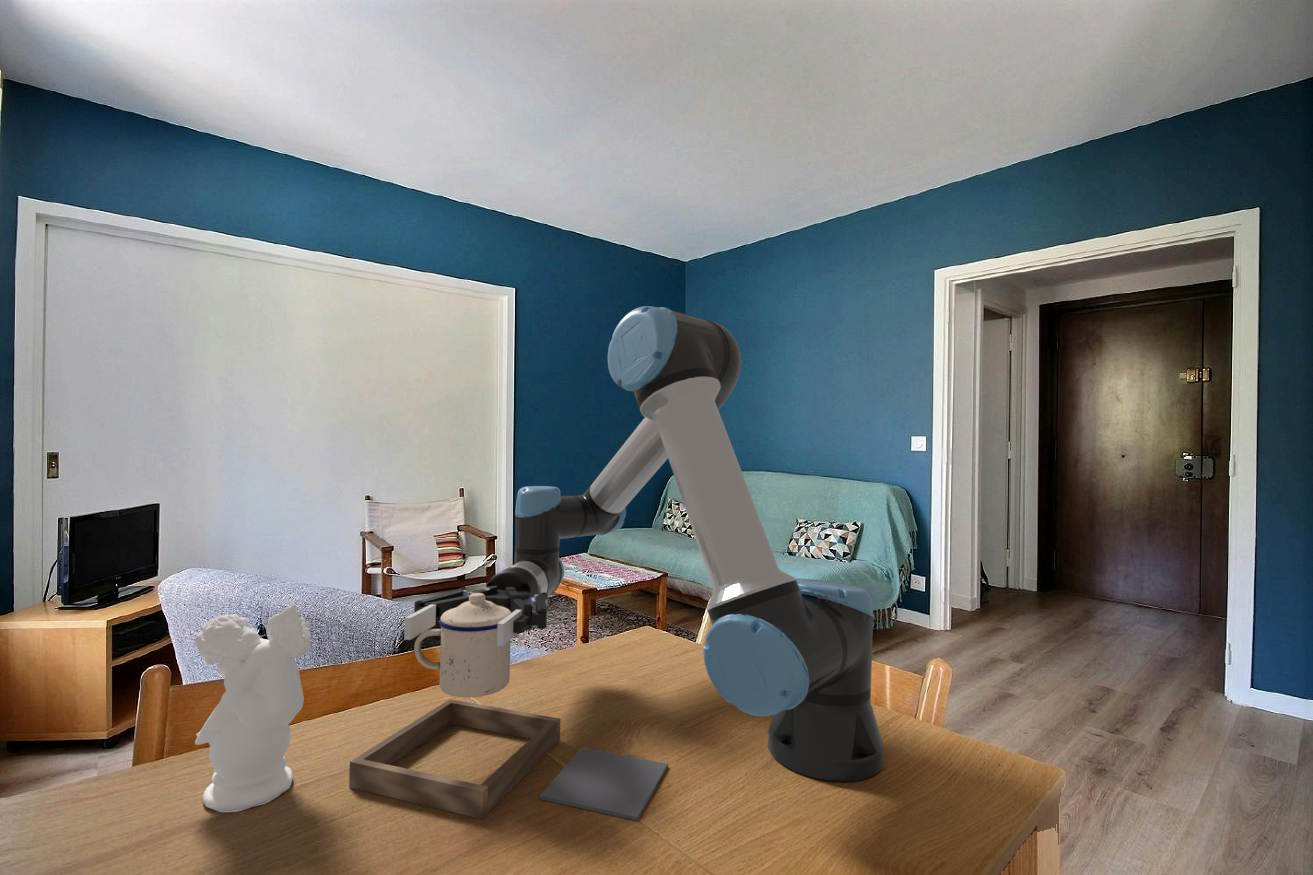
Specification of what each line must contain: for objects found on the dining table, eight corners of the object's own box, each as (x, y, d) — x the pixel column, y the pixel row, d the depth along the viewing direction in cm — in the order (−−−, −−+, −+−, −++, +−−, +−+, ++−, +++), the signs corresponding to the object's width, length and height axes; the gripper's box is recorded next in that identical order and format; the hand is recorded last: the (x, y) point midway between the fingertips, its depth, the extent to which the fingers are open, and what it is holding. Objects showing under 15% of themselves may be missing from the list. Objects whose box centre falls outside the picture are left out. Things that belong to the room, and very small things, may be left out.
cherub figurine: (174, 805, 68) (178, 606, 69) (267, 751, 80) (270, 582, 81) (266, 821, 66) (270, 614, 66) (348, 763, 78) (351, 588, 78)
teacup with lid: (512, 670, 85) (514, 585, 85) (510, 696, 76) (512, 602, 76) (419, 675, 82) (421, 587, 82) (406, 703, 73) (409, 605, 73)
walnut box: (559, 740, 85) (560, 718, 85) (482, 818, 67) (482, 791, 67) (448, 719, 91) (449, 699, 91) (349, 787, 73) (349, 761, 73)
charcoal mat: (667, 766, 79) (667, 763, 79) (637, 820, 68) (637, 816, 68) (581, 750, 83) (582, 747, 83) (539, 798, 71) (539, 795, 71)
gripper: (589, 618, 95) (546, 669, 74) (444, 609, 98) (362, 656, 77) (590, 570, 96) (547, 606, 74) (445, 562, 99) (364, 595, 77)
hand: (453, 631), depth 75 cm, fingers closed on teacup with lid, 11 cm apart
